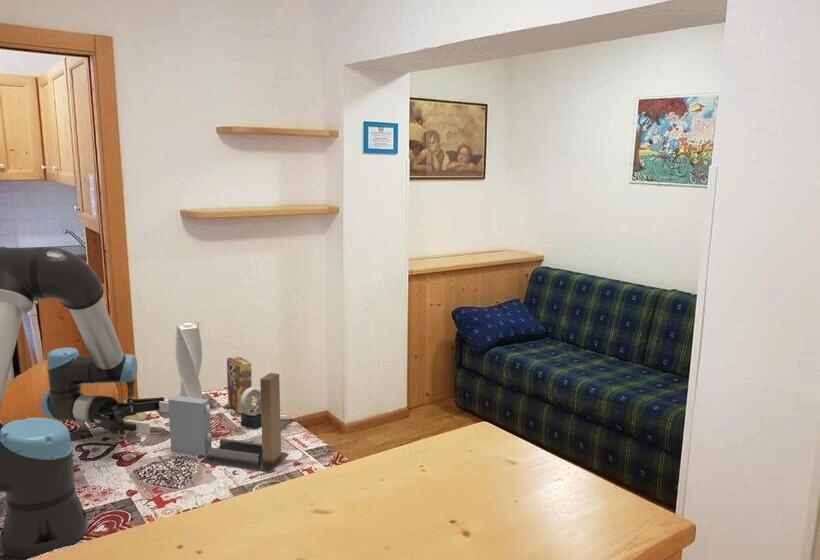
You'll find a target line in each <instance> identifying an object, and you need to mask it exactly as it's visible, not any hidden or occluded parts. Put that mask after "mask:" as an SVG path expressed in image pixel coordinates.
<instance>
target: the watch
mask: <svg viewBox="0 0 820 560" xmlns="http://www.w3.org/2000/svg"><path fill="white" fill-rule="evenodd" d="M251 392H252V397H254V399H256V400H257V402H258V404H257V407H256V409H254V410H253V409H252V411H249V410H248V408H247V405H246V398H247V396H248V395H249V394H250V393H251ZM240 407H241V409H242V411H243V412H244V413H241V414H240V422H241V423H240V425H241V426H243V427H246V428H249V429H251V430H257V429H260V428H262V423H261V387H258V386H254V387H253V386H252V387H250V388H247V389H246V390H245V391H244V392H243V393H242V395H241V398H240Z"/></svg>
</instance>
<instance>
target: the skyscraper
mask: <svg viewBox="0 0 820 560" xmlns="http://www.w3.org/2000/svg"><path fill="white" fill-rule="evenodd" d="M201 337H202V336H201V332H200V321H199V319H198V318H195V320H194V322H186V323H182V325H180V324H178V323H177V324H176V330H175V360H176V366H177V371H178V375H179V378H180V390H179V396H183V397H191V398H200V399H204V395H203V391H202V387H201V386H202V385H201V380H200V373H201V368H202V362H203V361H202V360H203V345H202V344H203V343H202V338H201Z"/></svg>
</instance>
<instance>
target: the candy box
mask: <svg viewBox="0 0 820 560" xmlns="http://www.w3.org/2000/svg"><path fill="white" fill-rule="evenodd" d="M226 368H227V369H226V373H227V376H226V377H227V379H226V380H227V405H228V407H229V408H230V409H233V410H234V411H235V412H237V413H238V414H240V415H241V414H244V412H243V411H242V409H241V407H240V398H241V395H242V393H243V392H244V391H245V390H246V389H247V388H250V387H253V386H252V384H253V383H252V381H253V379H252V378H253V377H252V362H250V361H249V360H247V359H245V358H243V357H241V356H231V357H227V358H226ZM246 405H247V408H248V410H249V411H252V410H253V394H252V392H251V393H250V394H249V395H248V396H247V398H246Z"/></svg>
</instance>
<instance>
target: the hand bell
mask: <svg viewBox="0 0 820 560" xmlns="http://www.w3.org/2000/svg"><path fill="white" fill-rule="evenodd" d="M135 380H136V378H135V379H134V380H133V381H130V382H125V383H126V386H127V398H126V399H124V400H123V402H124V403H127V399H138V398H136V397H135V392H134V391H135V390H134V385H135ZM131 412H133V409H131ZM147 418H148V414H147V412H141V413H136V414H135V415H132V416H126V417H125V418H123V420H124V423H125V421H126V420H134V421H142V422H144V421H145V420H146V419H147Z"/></svg>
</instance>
